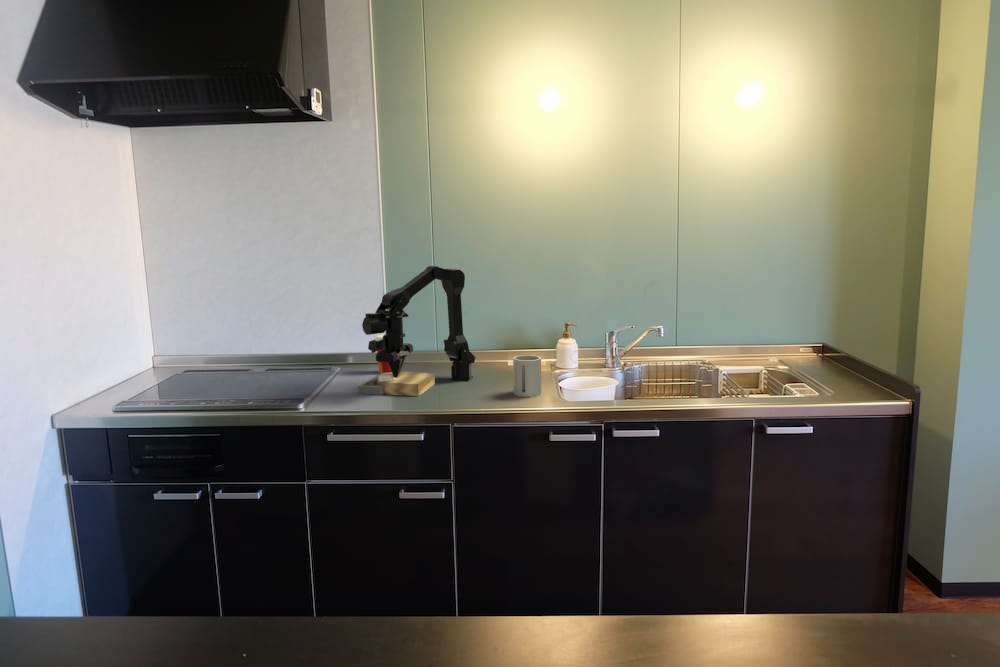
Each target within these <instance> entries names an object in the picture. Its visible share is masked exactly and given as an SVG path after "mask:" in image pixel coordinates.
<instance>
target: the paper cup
mask: <svg viewBox="0 0 1000 667" xmlns="http://www.w3.org/2000/svg"><path fill="white" fill-rule="evenodd" d="M385 334H386V333H385ZM385 334H384V333H382V334H378V335H376V337H375V339H374V340H376V341H379V340H382V339H383V335H385ZM380 351H383V349H381V350H379V351H376V354H377V353H378V352H380ZM377 362H378V363H377V364H378V372H379V374H382V373H391V372H392V371H391V368H390V365H389V363H388V362H381V361H377Z"/></svg>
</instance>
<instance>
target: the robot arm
mask: <svg viewBox="0 0 1000 667" xmlns="http://www.w3.org/2000/svg"><path fill="white" fill-rule="evenodd" d="M435 280H438V281H441V286H442V288H443V290H444V292H445V294H446V301H447V315H448V316H447V319H448V328H449V329H448V332H449V335H448V337H447V339H444V340H443V344H444V345H443V346H444V349H443V351H444V352H445V355H447V357H448V359H449V361H450V362H452V365H451V366H450V371H451V372H450V374H451V379H450V380H451V381H465V382H467V381H470V380H472V378H474V375H473V374H472V370H473V369H472V364H474V363H475V361H476V356H475V355H474V354H473V353H472V351H470V348H469V343H468V341H467V338H466V337H465V334H464V325H463V324H464V323H463V309H462V308H463V307H462V306H463V305H462V292H463V290H464V288H465V280H466V275H465V273H464V272H463V271H462V270H461V269H457V268H443V267H440V266H438V265H437V266H436V265H429V266H427V267H426V268H425V269H423V270H422V272H420V273H419V274H418V275H416V276H415V277H412V279H411V280H410V281H408V282H406V284H404V285H403V286H401V287H399V288H396V289H393V290H391V291H389V292H387V293H385V294H383V296H382V298H381V301H380V304H379V306H378V307H377V308H376V311H375V313H372V312H371V313H368V312H367V313H365V314H364V315H365V317H364V318H363V320H362V324H361V325H362V330H363V332H364V334H365V335H366V336H370V335H376V334H378V335H379V334H382V335H383V334H384V333H385V335H383V339H382V340H379V341H376V340H375V339H373V340H370V341H368V344H367V345H368V346H367V349H368V350H370V351H371V354H375V353H376V354H375V362H378V361H381V362H388V363H389V365H390V368H391V371H392V374H393V376H394V378H397V377H398V375H399V373H401V370H402V367H403V365H404V363H405V360H406V359H407V357H408V355H405V354H404V353H403V352H408V353H410V354H411V353H413V352H414V346H413V345H412V343H408V342H404V338H405V337H406V333H404V318H407V317H409V314H408V313H406V312H405V310H404V309H405V308H406V307H407V306H408V305H409V303H410V302H411V300H412V298H413V297H414V296H415V295H417V294H418V293H419V292H421V291H422V290H423V289H424V288H426V287H427V286H428V285H430V284H431V283H432V282H434V281H435ZM381 349H383V351H380V352H378V353H377V351H379V350H381Z"/></svg>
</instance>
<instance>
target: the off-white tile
mask: <svg viewBox="0 0 1000 667" xmlns="http://www.w3.org/2000/svg"><path fill="white" fill-rule="evenodd" d="M380 374H381V373H380ZM378 375H379V374H378ZM378 379H379V382H384V381H393V380H394V379H396V378H394V376H393V374H392V372H391V373H382V374H381V375H379V376H378Z"/></svg>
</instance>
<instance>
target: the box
mask: <svg viewBox="0 0 1000 667" xmlns="http://www.w3.org/2000/svg"><path fill="white" fill-rule="evenodd" d="M379 375H381V373H379V374H378V375H375V376H373V377H371V378H369V379H368V380H365V381H364V382H363V383H360V384H359V385H357V393H358V394H361V395H363V394H365V395H377V396H379V395H382V396H384V395H385V394H384V385H377V379H378V376H379Z"/></svg>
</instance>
